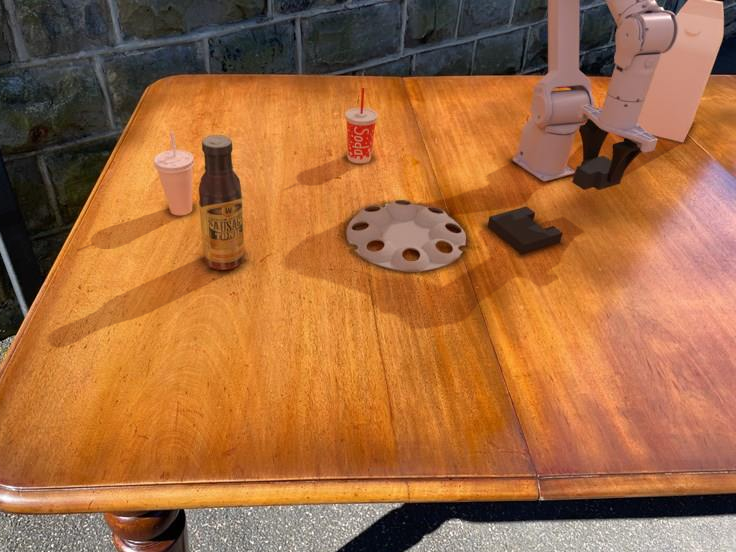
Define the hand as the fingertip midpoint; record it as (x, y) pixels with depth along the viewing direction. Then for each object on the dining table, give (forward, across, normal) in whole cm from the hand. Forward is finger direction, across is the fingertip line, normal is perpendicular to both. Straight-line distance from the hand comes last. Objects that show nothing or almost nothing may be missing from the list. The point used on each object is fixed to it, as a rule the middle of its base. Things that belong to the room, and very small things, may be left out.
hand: (600, 173), depth 107 cm
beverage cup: (+8, +34, +27) cm, 44 cm away
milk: (+8, +20, -41) cm, 46 cm away
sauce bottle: (+8, +14, +62) cm, 64 cm away
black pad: (+7, -1, +16) cm, 17 cm away
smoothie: (+8, +31, +64) cm, 72 cm away
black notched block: (+1, 0, +1) cm, 2 cm away
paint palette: (+8, +7, +34) cm, 35 cm away
